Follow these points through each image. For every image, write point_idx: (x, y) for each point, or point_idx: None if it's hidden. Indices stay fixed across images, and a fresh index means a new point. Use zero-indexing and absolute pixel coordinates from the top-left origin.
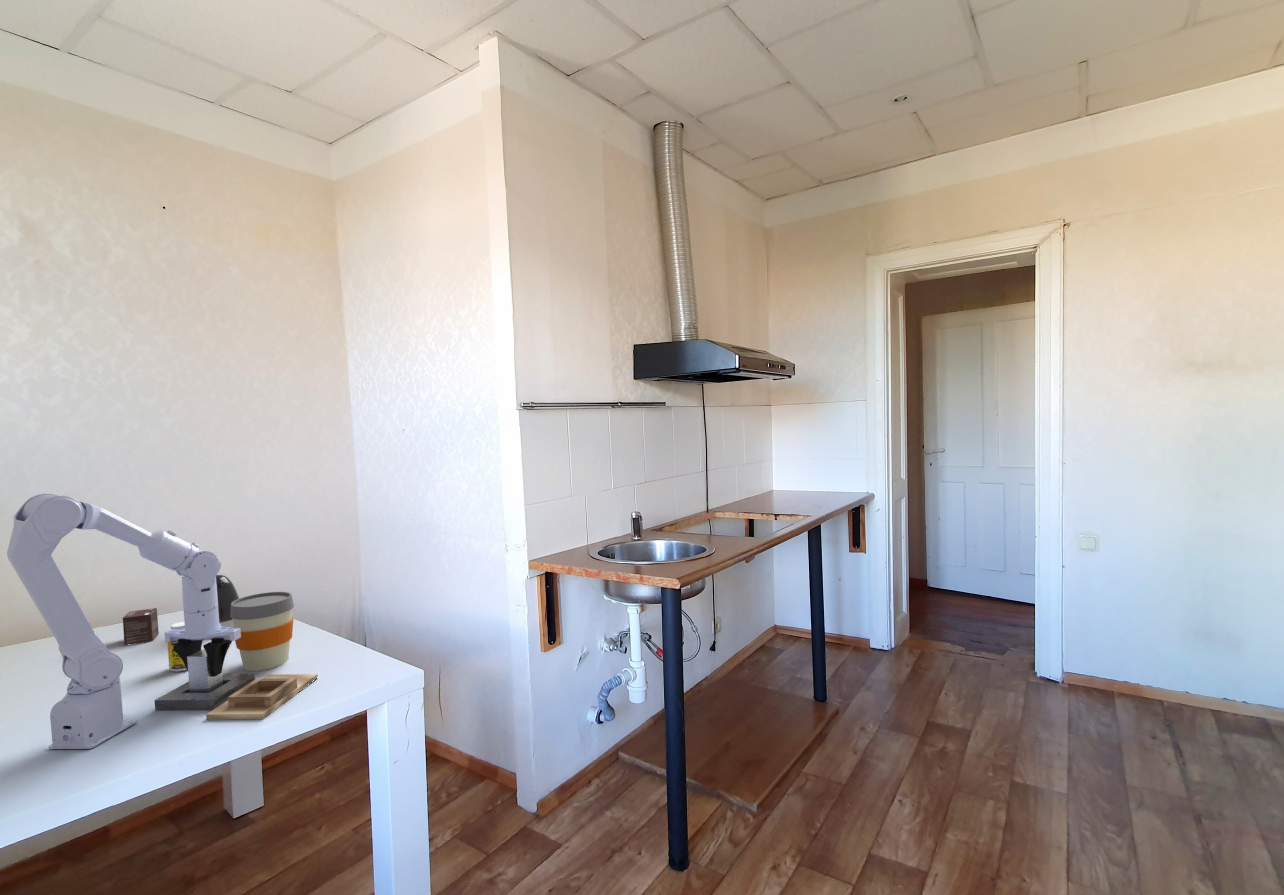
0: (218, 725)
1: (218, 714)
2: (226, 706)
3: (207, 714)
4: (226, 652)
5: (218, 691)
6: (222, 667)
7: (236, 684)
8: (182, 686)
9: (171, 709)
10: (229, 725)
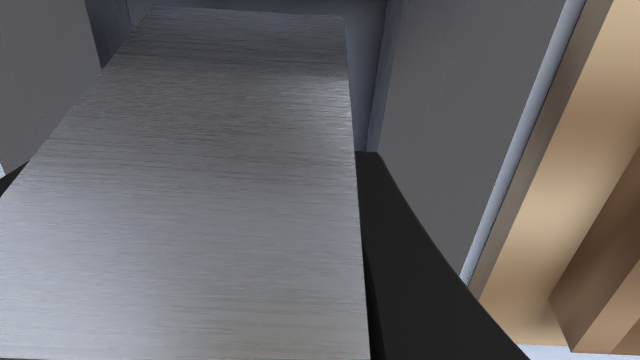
0: (535, 352)
1: (523, 343)
2: (532, 291)
3: None
4: (510, 345)
5: (419, 207)
6: (394, 181)
7: (511, 97)
8: (2, 95)
9: None
10: (583, 355)
